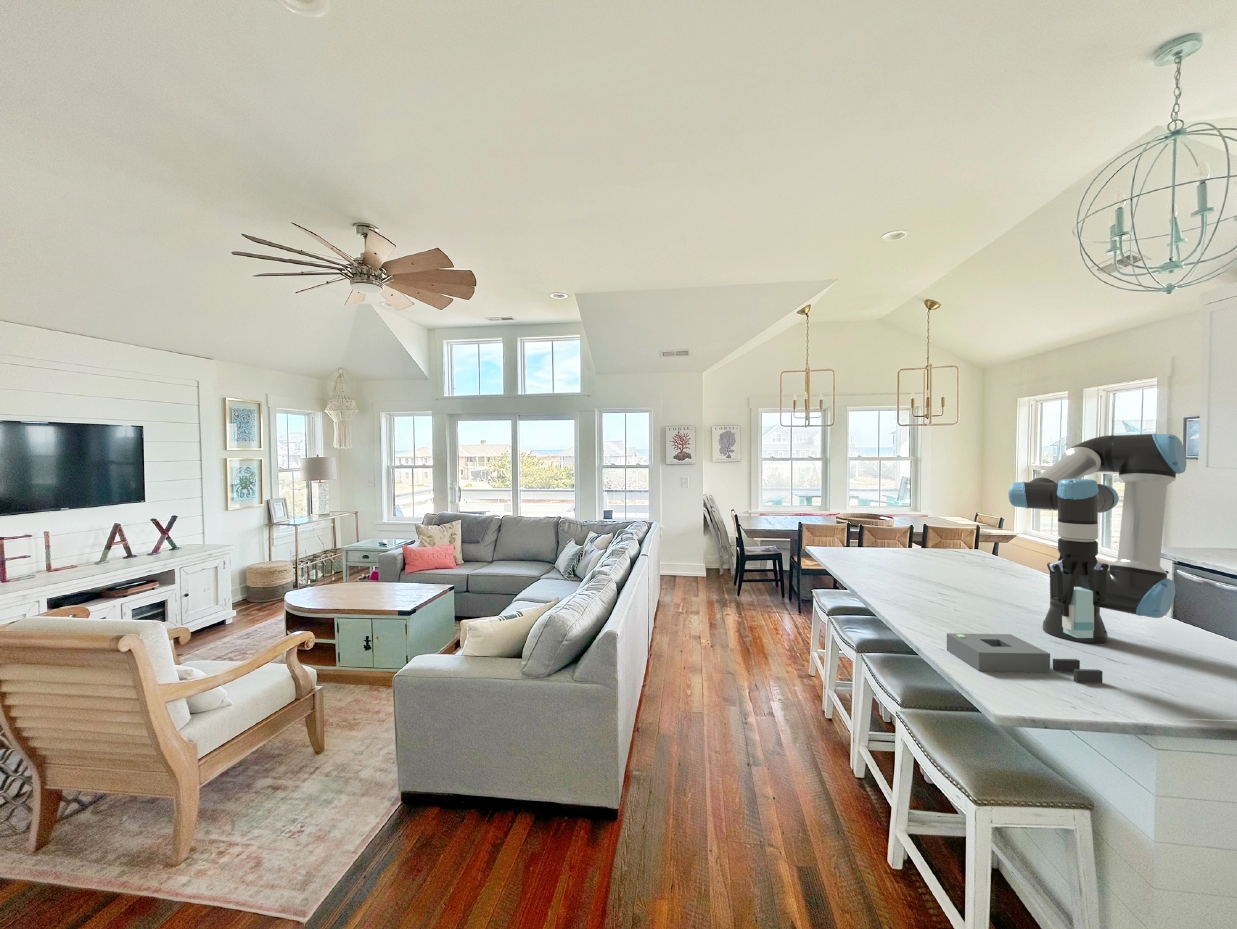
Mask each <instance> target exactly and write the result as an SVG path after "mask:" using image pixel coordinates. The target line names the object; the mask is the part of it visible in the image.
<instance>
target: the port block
mask: <svg viewBox="0 0 1237 929" xmlns="http://www.w3.org/2000/svg"><path fill="white" fill-rule="evenodd" d="M946 651H947V652H949V653H950V654H952V655H953V656H955V657H956V658H958V659H960V660H961V661H963V662H964V663H966V664H967V665H969V666H971V668H973V669H975V670H977V671H978V672H1002V673H1003V672H1004V673H1005V672H1008V673H1009V672H1011V673H1051V653H1050V652H1048V651H1046V650H1044V649H1042V648H1040V647H1037V646H1035V645H1034V644H1032V643H1030V642H1027V641H1025V640H1023V639H1021V638H1020V637H1017V636H1015V635H1014V634H1011V633H959V632H958V633H955V632H954V633H952V632H950V633H949V632H947V633H946Z"/></svg>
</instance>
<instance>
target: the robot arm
mask: <svg viewBox="0 0 1237 929" xmlns="http://www.w3.org/2000/svg"><path fill="white" fill-rule="evenodd" d="M1186 468H1187V456H1186V452H1185V448H1184V445H1183V443H1182V441H1181V439H1180V438H1179V437H1178V436H1176V435H1175V434H1171V433H1155V432H1154V433H1145V434H1144V433H1142V434H1120V435H1119V434H1118V435H1117V434H1116V435H1113V434H1112V435H1111V434H1109V435H1101V436H1098V437H1092V438H1090V439H1087V440H1084V441H1082V442H1079V443H1077V444H1074V445H1073V446H1071V447H1070V448H1068V449H1067V450H1066V451H1065V452H1063V454H1062V456H1061V458H1060V459H1059V460H1057V461H1056V462H1055V463H1053V464H1052V465H1050V466H1049V467H1048V468H1047V469H1046V470H1044V471H1043V472H1041V473H1040V474H1038V475H1037V476H1036V477H1034V478H1033V479H1032V480H1030V481H1029V482H1026V481H1016V482H1013V483H1012V484H1010V486H1009V489H1008V501H1009V503H1010V504H1011V505H1012V506H1013V507H1016V508H1024V509H1036V510H1052V511H1057V536H1058V537H1059V538H1058V539H1057V551H1058V553H1059V556H1058V557H1059V558H1058V559H1057V561H1056V562H1055V561H1054V562H1047V563H1046V566H1047V568H1048V571H1049V577H1048V578H1049V608H1048V610H1047V613H1046V615H1045V618H1044V620H1043V621H1042V630H1043V631H1044V632H1045V633H1047V634H1049V635H1051V636H1054V637H1058V638H1060V639H1063V640H1067V641H1068V640H1069V641H1074V642H1080V643H1086V644H1088V643H1089V644H1104V643H1107V642H1108V641H1109V639H1108V638H1109V634H1108V631H1107V629H1106V627H1105V624H1104V622H1103V619H1102V616H1101V608H1102V609H1106V610H1110V611H1117V612H1121V613H1126V614H1131V615H1135V616H1139V617H1147V618H1152V619H1160V618H1163V617H1164V616H1165V615H1167V614H1168V613H1169V611H1170V609H1171V607H1172V606H1173V603H1174V600H1175V597H1176V583H1175V581H1174V580H1172V579H1170V578H1168V572H1167V571H1166V570H1165V569H1164V568H1163V567H1162V566H1161V558H1162V557H1161V556H1162V545H1163V544H1162V543H1163V534H1164V525H1165V513H1166V502H1167V490H1168V485H1169V484H1172V483H1173V482H1175V481H1176V476H1177V474H1178V475H1179V474H1184V473H1185V472H1186V470H1187V469H1186ZM1096 472H1097V473H1100V472H1101V473H1102V472H1103V473H1105V472H1106V473H1111V472H1112V473H1118V478H1119V479H1120V480H1122V481H1123V482H1124V490H1123V491H1124V492H1123V499H1122V500H1123V501H1122V512H1121V521H1120V522H1121V523H1120V532H1119V542H1118V550H1117V551H1118V553H1117V560H1115V561H1113V562H1111V563H1109V564H1108V563H1105V562H1101V561H1098V559H1097V557H1096V556H1097V555H1098V554H1099V542H1098V541H1096V540H1097V539H1099V522H1098V521H1099V520H1098V519H1099V514H1098V513H1100V514H1101V513H1106V512H1109V511H1110V510H1112V509H1114V508H1115V507H1116V506H1117V505H1118V503H1119V501H1120V500H1119V499H1120V497H1119V495H1118V492H1117V491H1116V490H1115V489H1114V487H1111V486H1110V485H1107V484H1102V483H1098V482H1097V480H1095V479H1091V478H1090V479H1089V478H1084V477H1086V476H1090V475H1093V474H1095V473H1096ZM1074 587H1081V588H1084V589H1088V590H1091V591H1093V624H1094V630H1093V638H1076V637H1073V636H1071V635H1069V634H1066V633H1064V632H1063V627H1064V628H1066V629H1069V630H1074V605H1072V604H1070V603H1071V599H1072V595H1073V590H1074Z"/></svg>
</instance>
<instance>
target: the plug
mask: <svg viewBox="0 0 1237 929" xmlns="http://www.w3.org/2000/svg"><path fill="white" fill-rule="evenodd" d="M1070 604H1072V605H1074V630H1069V629H1066V628H1064V627H1063V632H1064V633H1066V634H1069V635H1071V636H1073V637H1076V638H1093V630H1094V624H1093V591H1091V590H1088V589H1084V588H1081V587H1074V590H1073V595H1072V599H1071V603H1070Z"/></svg>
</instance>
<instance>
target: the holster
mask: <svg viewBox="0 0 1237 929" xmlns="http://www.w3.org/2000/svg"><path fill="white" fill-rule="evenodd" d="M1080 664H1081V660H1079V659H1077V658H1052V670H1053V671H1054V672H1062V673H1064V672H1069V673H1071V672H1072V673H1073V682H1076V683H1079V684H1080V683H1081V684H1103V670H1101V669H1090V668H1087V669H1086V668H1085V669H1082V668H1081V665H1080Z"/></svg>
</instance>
